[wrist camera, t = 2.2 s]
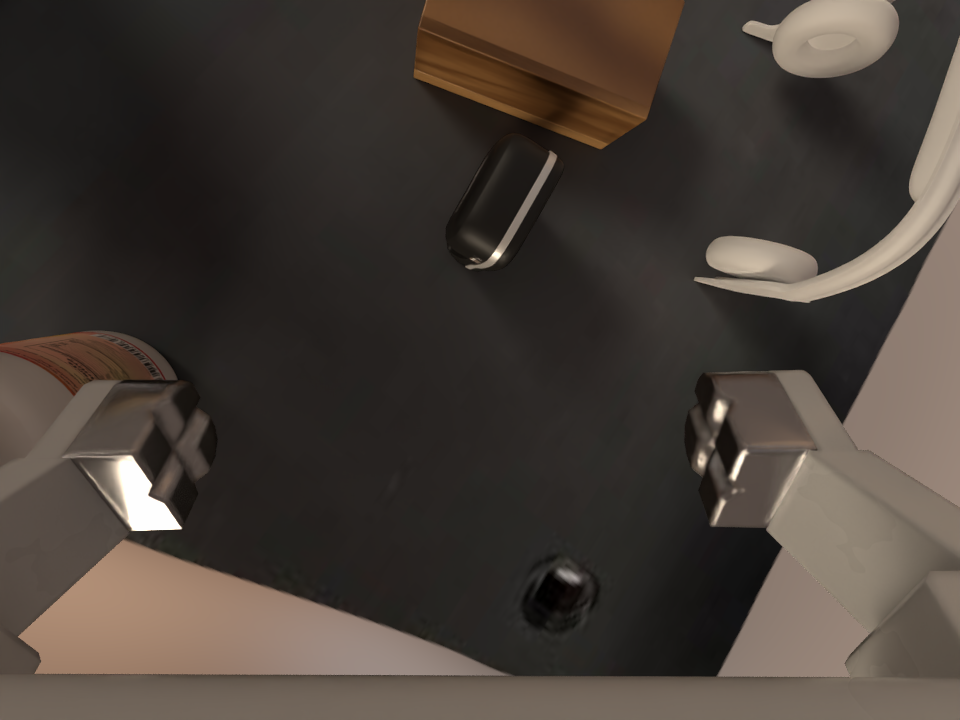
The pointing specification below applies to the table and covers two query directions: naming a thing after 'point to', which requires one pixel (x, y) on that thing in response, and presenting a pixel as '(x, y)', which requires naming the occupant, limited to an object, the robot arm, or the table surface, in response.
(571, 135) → the step shelf
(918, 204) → the headset
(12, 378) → the fruit juice
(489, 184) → the battery charger
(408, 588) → the table surface
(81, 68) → the table surface
